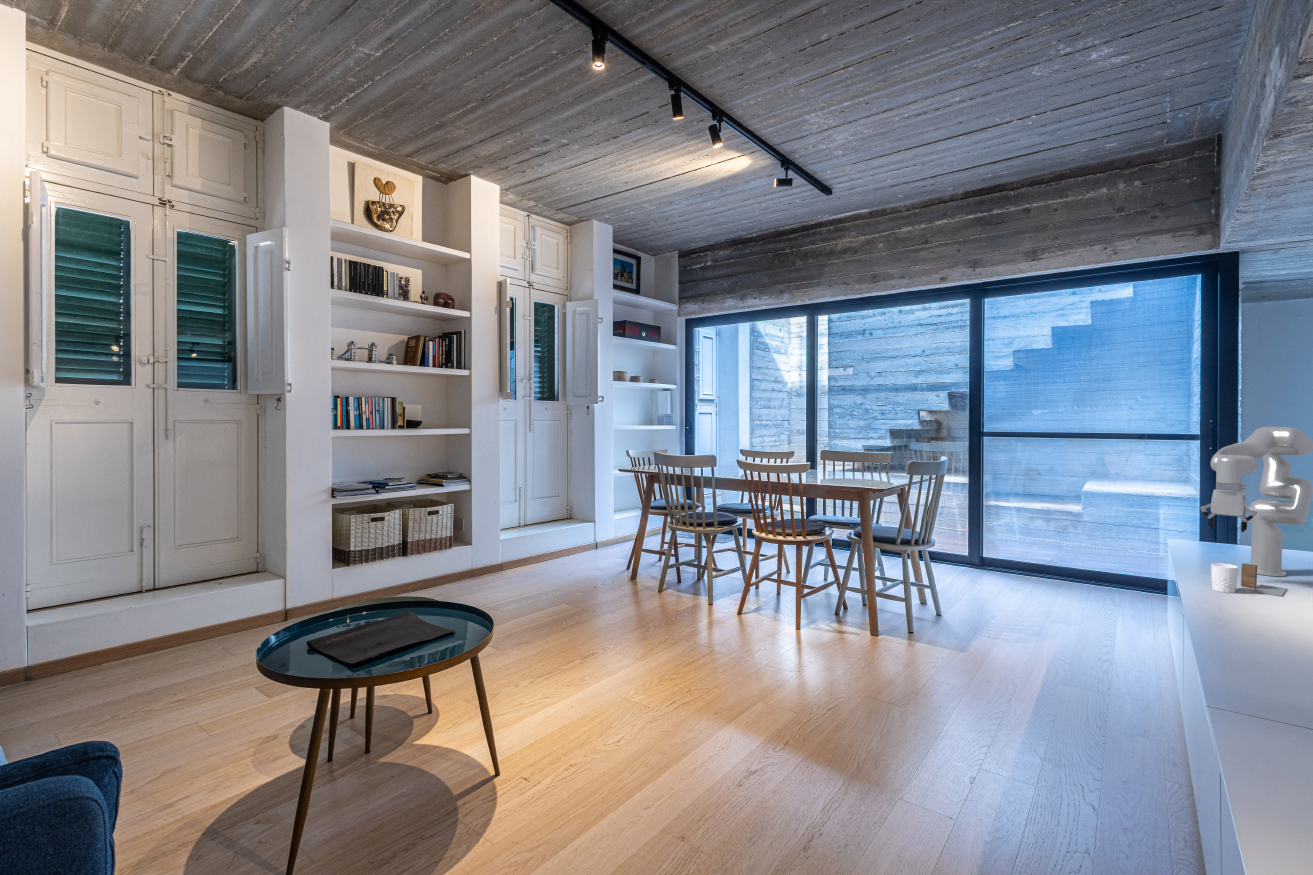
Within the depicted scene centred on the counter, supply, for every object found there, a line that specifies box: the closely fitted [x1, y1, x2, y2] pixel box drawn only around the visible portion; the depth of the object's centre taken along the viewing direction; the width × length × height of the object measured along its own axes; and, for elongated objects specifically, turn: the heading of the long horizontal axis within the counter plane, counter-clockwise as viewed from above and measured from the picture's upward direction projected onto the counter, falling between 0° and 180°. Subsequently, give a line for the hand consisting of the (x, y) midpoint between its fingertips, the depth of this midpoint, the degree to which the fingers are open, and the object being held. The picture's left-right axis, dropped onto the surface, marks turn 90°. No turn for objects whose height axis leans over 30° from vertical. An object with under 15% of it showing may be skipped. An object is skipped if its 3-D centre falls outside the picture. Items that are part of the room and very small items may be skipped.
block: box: [1240, 563, 1258, 591], centre depth 245 cm, size 4×4×9 cm
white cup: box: [1210, 562, 1239, 594], centre depth 241 cm, size 8×8×10 cm
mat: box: [1254, 584, 1288, 597], centre depth 241 cm, size 14×8×1 cm, turn 129°
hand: (1227, 529), depth 250 cm, fingers open, 8 cm apart
